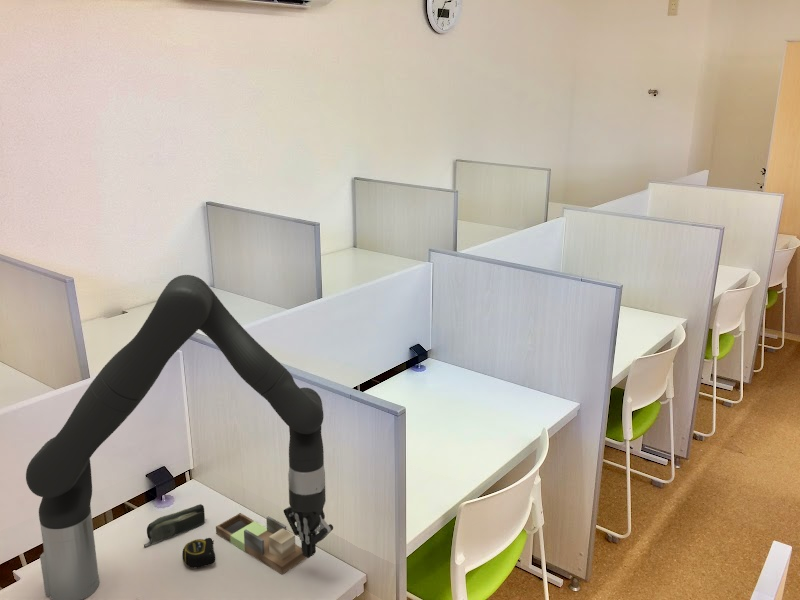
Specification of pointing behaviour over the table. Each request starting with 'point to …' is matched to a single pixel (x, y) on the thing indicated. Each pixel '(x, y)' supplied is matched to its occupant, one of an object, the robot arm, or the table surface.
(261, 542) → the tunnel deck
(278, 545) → the block
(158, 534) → the green pencil case
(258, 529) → the pad
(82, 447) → the robot arm
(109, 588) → the table surface
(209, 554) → the tape measure
